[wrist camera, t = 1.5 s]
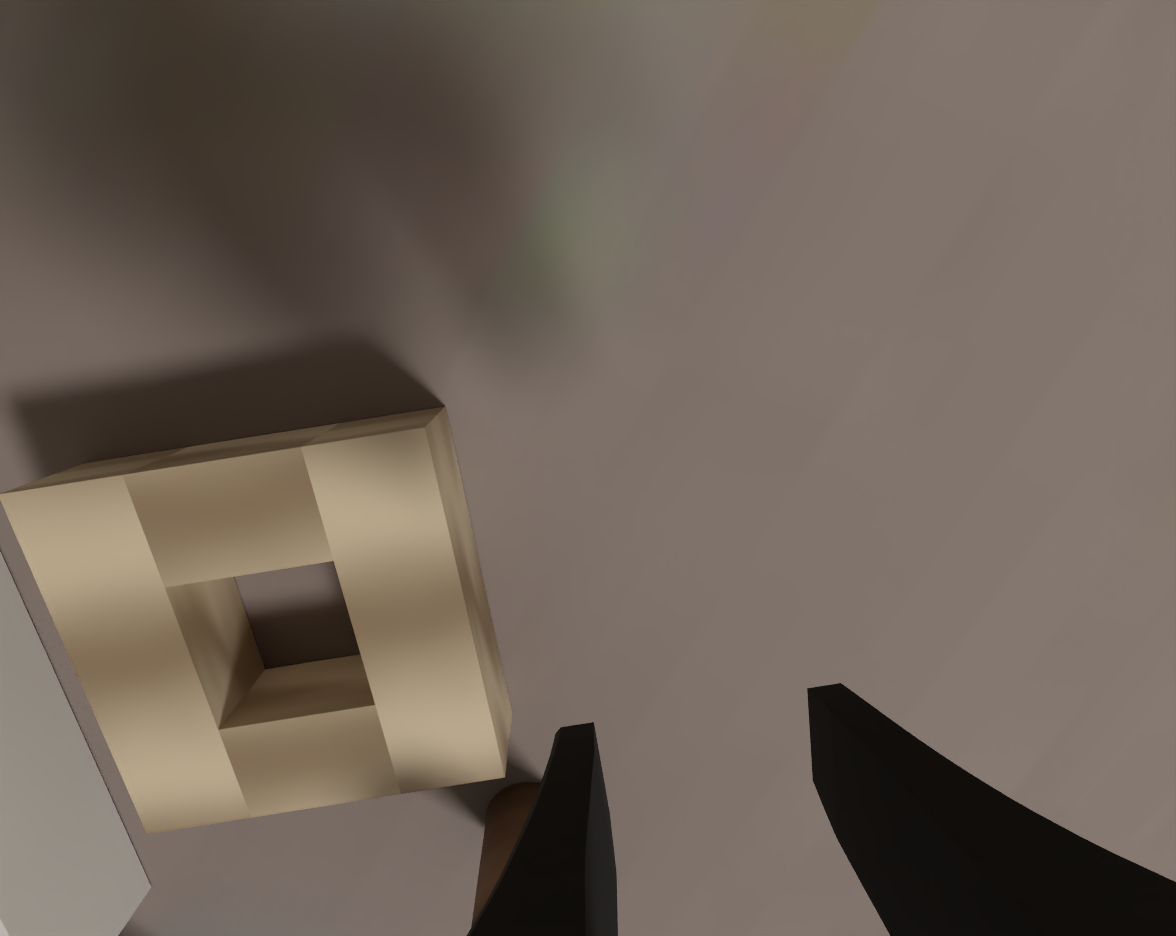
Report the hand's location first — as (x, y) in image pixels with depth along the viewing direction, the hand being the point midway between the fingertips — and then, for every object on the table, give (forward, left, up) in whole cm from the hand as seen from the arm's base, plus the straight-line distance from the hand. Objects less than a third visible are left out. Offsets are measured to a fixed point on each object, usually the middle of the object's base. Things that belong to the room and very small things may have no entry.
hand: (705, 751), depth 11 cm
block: (0, +11, -9) cm, 14 cm away
